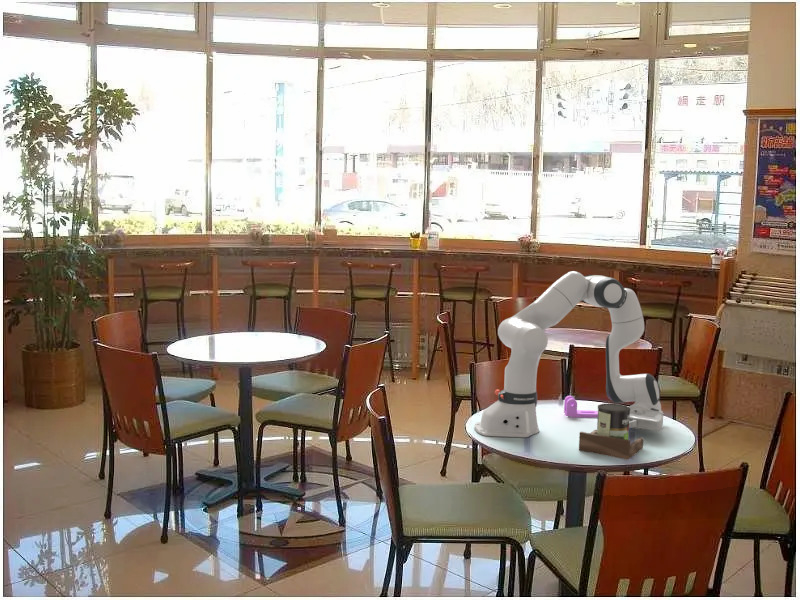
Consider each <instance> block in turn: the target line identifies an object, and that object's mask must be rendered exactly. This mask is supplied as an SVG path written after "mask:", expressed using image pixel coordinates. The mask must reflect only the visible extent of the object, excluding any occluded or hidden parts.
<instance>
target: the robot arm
mask: <svg viewBox="0 0 800 600" xmlns="http://www.w3.org/2000/svg"><path fill="white" fill-rule="evenodd" d="M581 302H583V303H584V304H587V305H590V306H594V307H597V308H605V309H607V310H608V312H609V314H610V320H611V331H610V333H609V334H608V335H607V336H606V340H605V372H606V373H605V375H606V376H605V377H606V378H605V380H606V383H605V394H606V397H607V398H608V399H609V400H610V401H611V402H613V404H624V403H631V402H634V403H633V404H631V405H630V406H628V407H629V408H630V416H629V429H634V430H648V431H655V432H660V431H662V429H663V425H664V424H663V423H664V412H663V410H662V404H661V401H660V399H661V389H660V385H659V382H658V380H657V379H656V378H655V377H654V376H653V375H652V374H651V373H639V374H637V373H636V374H628V375H622V374H621V373H620V356H619V355H620V351H621V350H622V349H624V348H626V347H628V346H630V345H631V344H633V343H635V342H636V341H638V340H639V339H640V338H641V337H642V336H643V335H644V332H645V321H644V320H645V319H644V316H643V315H644V314H643V310H642V308H641V303H640V302H639V299H638V296H637V294H636V293H635V291H634V290H633V289H631V288H628V287H624V286H623V285H622V283H621V282H620V281H619V280H617V279H616V278H614V277H609V276H605V275H601V274H600V275H599V274H598V275H597V274H587V275H585V276H584V275H583V274H582V273H581V272H578V271H575V270H572V271H568V272H567V273H565V274H563V275H562V276H561V277H560V278H558V279H556V281H554V282H553V283H552V284H551V285H550V286H549V287H547V289H546V290H544V292H543V293H541V295H540V296H539V297H537V299H535V300H534V301H533V302H532V303H530V304H529V305H527V306H526V307H524V308H523V309H521V310H520V311H519V312H517V313H516V314H514V315H512V316H511V317H508V318H505V319H504V320H502V321H501V323H500V324H499V325H498V328H497V336H498V338H499V340H500V341H501V342H502V344H503V345H504V346H506V347H508V348H509V349H510V350H511V353H510V357H509V359H508V363H507V364H506V366H505V367H504V381H503V382H504V384H503V386H504V387H503V389H502V390H500V389H495V391H494V394H495V395H496V396H497V399H498V400H496V401H495V402H494V403H492V404H491V405H490V406H488V407H487V408H485V409H484V410H483V412H482V415H481V419H480V422H476V423H475V424H474V430H475V432H477V433H478V434H479V435H481V436H485V437H509V438H529V437H530V436H532V435H535V434H538V433H539V432H540V428H539V424H538V419H537V408H536V407H537V405H538V392H537V376H538V375H537V374H538V367H539V363H540V360H541V356H542V353H543V352H544V351H545V350H546V349H547V346H548V343H549V339H548V338H549V337H548V335H547V333H546V330H547V329H549V328H551V327H554V326H556V325H557V324H559V323H560V322H561V321H562V320H563V319H564V318H565V317H566V316H567V315H568V314H569V313H570V312H571V311H572V310H573V309H575V307H576V306H577V305H578V304H579V303H581Z"/></svg>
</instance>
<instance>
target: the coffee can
mask: <svg viewBox="0 0 800 600" xmlns="http://www.w3.org/2000/svg"><path fill="white" fill-rule="evenodd" d="M629 407H630V406H628V405H625V404H621V403H618V404H616V403H602V404H598V405H597V409H598V410H597V411H598V417H597V424H596V425H597V429H596V430H597V435H603V436H609V437H614V438H620V439H625V440H629V429H630V428H629V416H630V408H629Z"/></svg>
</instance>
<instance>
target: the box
mask: <svg viewBox="0 0 800 600" xmlns="http://www.w3.org/2000/svg"><path fill="white" fill-rule="evenodd" d="M578 438H579V440H578V441H579V442H578V451H580V452H585V453H591V454H594V455H595V454H597V455H602V456H605V457H606V456H607V457H611V458H617V459H622V460H627V461H629V460H630V459H631V458H633V457H634V456H635V455H636V454H637V453H639V452H640V451H641V450H642V448H643V449H644V437H637V439H636V440H634V441H633V442H632V441H631V440H629V439H628V440H625V439H620V438H614V437H609V436H603V435H597V429H594V430H592V431H591V432H586V431H580V432H579V437H578ZM631 442H632V443H631Z"/></svg>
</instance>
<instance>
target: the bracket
mask: <svg viewBox="0 0 800 600" xmlns="http://www.w3.org/2000/svg"><path fill="white" fill-rule="evenodd" d="M563 413H565V414H564V416H565V417H566V416H572V417H571V418H592V417H596V418H598V410H597V411H596V410H589V409H585V410H583V409H578V401H577V400H576V398H574V396H573V395H567V396H565V398H564V406H563Z"/></svg>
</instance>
